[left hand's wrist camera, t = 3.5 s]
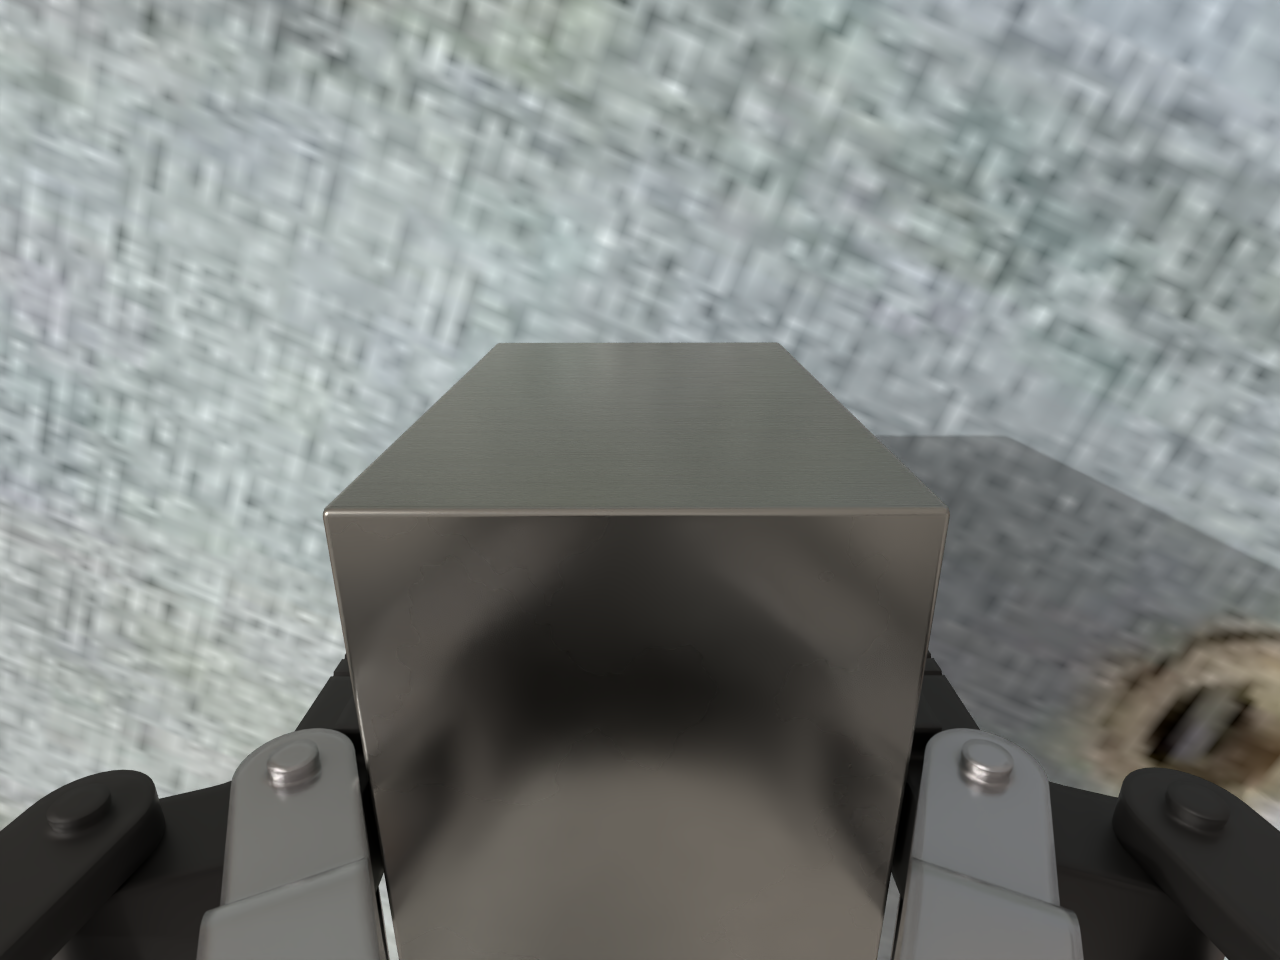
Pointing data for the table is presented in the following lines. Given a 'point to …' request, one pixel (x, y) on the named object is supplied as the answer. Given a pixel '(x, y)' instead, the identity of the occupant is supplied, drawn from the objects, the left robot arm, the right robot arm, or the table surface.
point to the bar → (637, 657)
